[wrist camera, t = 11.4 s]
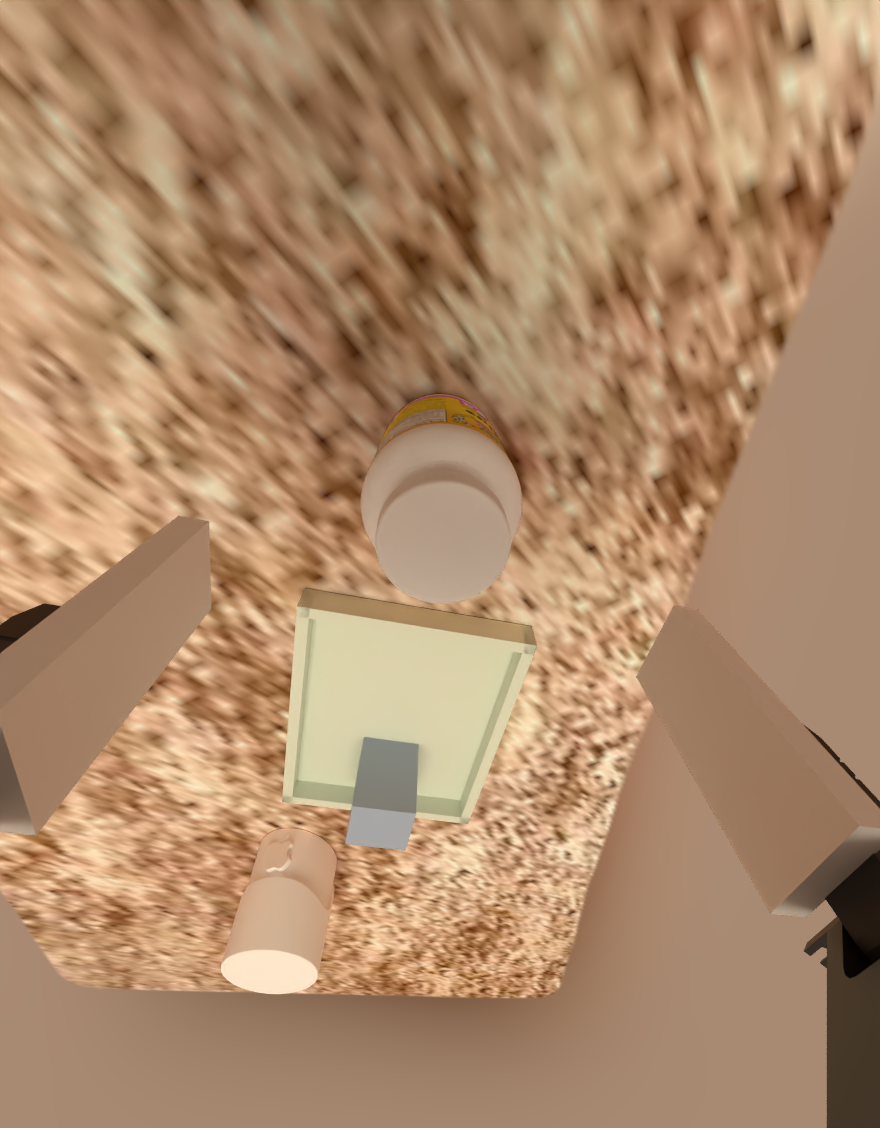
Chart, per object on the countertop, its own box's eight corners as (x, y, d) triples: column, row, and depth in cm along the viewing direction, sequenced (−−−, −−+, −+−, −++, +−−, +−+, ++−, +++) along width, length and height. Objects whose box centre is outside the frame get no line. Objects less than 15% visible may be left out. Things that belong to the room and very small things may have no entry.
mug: (200, 950, 36) (299, 941, 36) (243, 832, 44) (324, 823, 44) (253, 1013, 42) (339, 1006, 41) (282, 897, 50) (354, 890, 50)
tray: (305, 588, 31) (297, 606, 29) (531, 626, 33) (537, 645, 31) (289, 778, 41) (282, 801, 39) (466, 800, 42) (467, 824, 40)
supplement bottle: (510, 483, 28) (561, 597, 17) (409, 518, 29) (392, 649, 18) (475, 371, 25) (509, 419, 14) (364, 416, 26) (310, 494, 15)
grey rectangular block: (357, 772, 39) (345, 843, 34) (363, 736, 37) (352, 806, 32) (409, 779, 40) (405, 850, 35) (418, 744, 38) (416, 813, 33)
